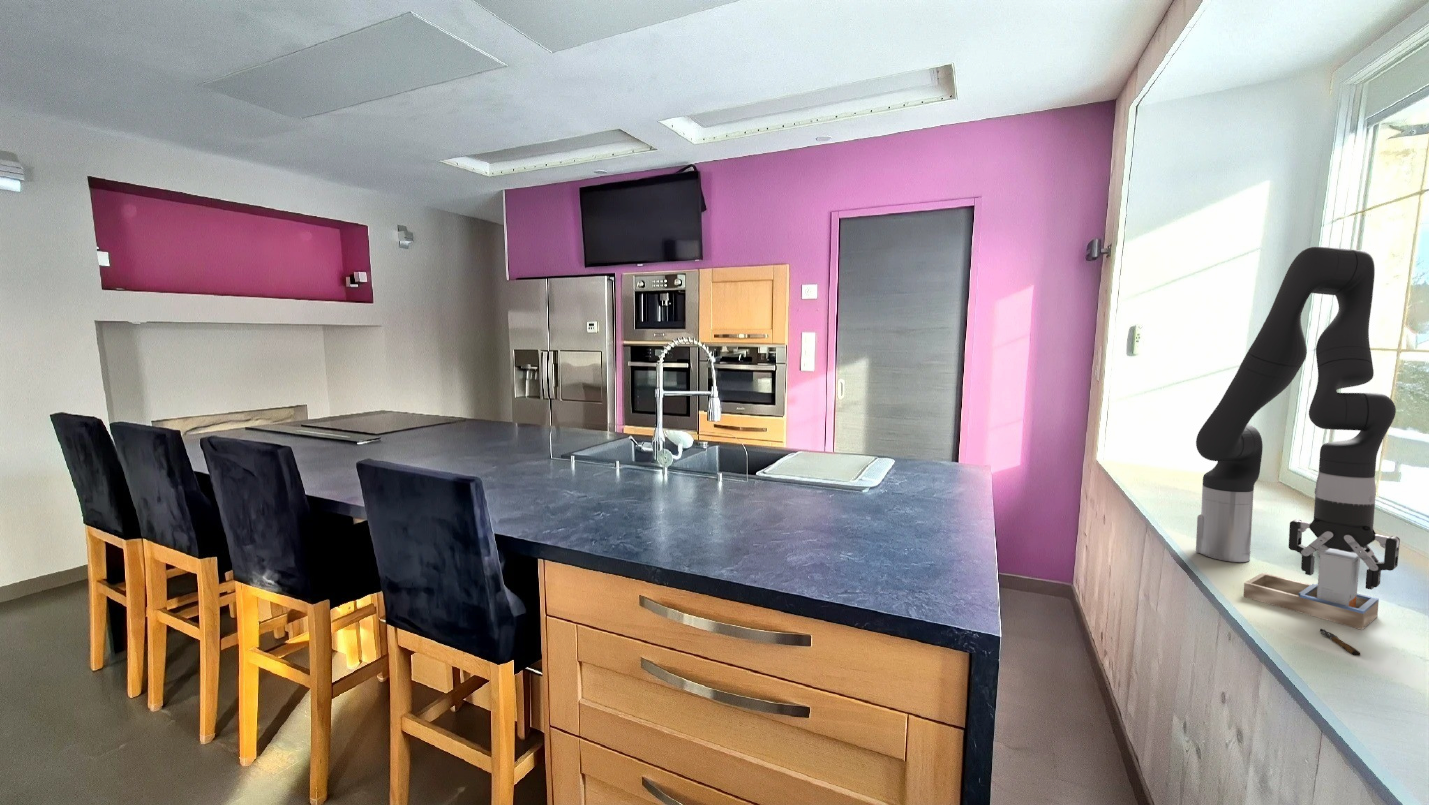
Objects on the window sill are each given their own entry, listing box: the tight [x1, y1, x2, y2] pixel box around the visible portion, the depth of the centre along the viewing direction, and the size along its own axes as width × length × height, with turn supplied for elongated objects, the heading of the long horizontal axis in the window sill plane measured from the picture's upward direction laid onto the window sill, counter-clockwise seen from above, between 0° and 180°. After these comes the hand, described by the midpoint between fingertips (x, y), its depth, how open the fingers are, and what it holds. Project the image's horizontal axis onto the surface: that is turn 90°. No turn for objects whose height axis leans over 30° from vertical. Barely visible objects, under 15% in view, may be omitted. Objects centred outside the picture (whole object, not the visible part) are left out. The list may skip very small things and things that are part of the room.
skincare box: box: [1317, 548, 1361, 608], centre depth 106 cm, size 6×4×12 cm
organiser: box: [1243, 572, 1380, 631], centre depth 110 cm, size 16×10×4 cm, turn 29°
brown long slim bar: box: [1319, 628, 1361, 657], centre depth 97 cm, size 9×2×1 cm, turn 154°
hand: (1338, 580), depth 106 cm, fingers open, 7 cm apart
